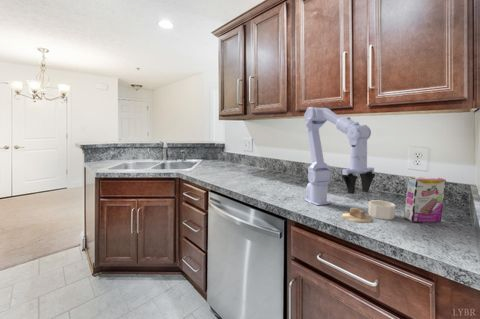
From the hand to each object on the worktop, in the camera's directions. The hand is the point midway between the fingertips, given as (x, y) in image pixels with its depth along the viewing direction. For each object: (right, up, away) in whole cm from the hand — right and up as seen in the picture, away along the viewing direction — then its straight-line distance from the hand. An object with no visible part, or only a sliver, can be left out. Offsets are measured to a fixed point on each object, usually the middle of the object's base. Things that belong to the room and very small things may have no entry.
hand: (358, 192), depth 96 cm
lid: (0, -10, +1) cm, 10 cm away
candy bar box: (+23, -11, -1) cm, 26 cm away
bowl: (+11, -10, +4) cm, 15 cm away
